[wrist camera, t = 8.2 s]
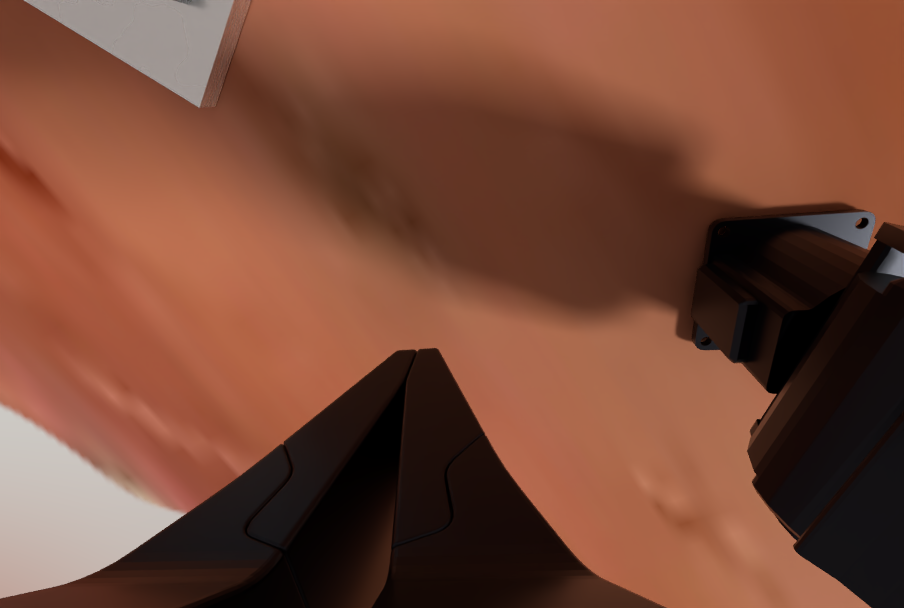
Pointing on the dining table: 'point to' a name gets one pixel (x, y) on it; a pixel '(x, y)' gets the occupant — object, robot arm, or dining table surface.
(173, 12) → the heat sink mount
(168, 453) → the dining table surface
